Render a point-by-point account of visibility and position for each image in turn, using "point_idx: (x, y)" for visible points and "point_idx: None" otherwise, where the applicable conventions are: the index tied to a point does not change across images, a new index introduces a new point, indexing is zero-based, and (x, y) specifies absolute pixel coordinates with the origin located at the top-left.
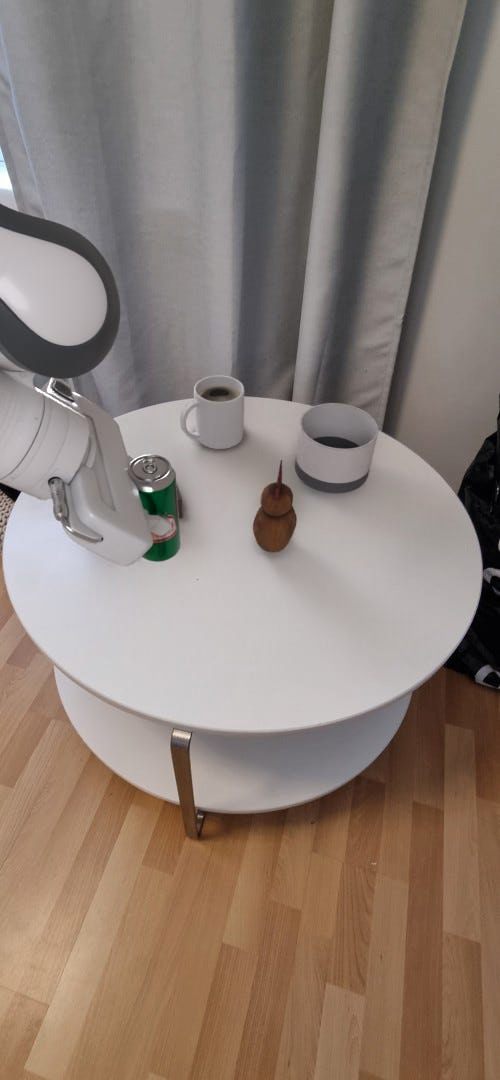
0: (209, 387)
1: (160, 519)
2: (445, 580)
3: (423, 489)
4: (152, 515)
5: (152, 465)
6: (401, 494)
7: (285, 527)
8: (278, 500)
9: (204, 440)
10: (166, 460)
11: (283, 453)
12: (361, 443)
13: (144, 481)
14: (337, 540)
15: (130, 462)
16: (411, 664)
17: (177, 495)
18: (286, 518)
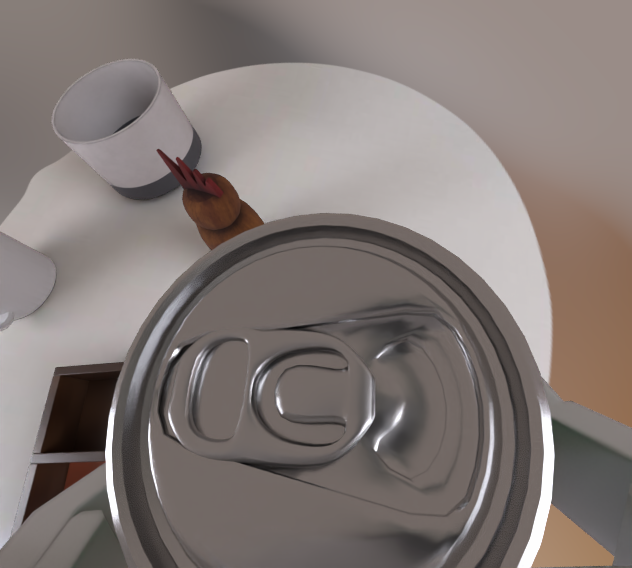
0: None
1: (561, 399)
2: (355, 92)
3: (223, 85)
4: (618, 449)
5: (267, 364)
6: (222, 105)
7: (254, 213)
8: (224, 192)
9: (24, 308)
10: (241, 242)
11: (101, 211)
12: (137, 110)
13: (538, 494)
14: (268, 179)
15: (84, 537)
16: (465, 143)
17: (121, 367)
18: (243, 205)
